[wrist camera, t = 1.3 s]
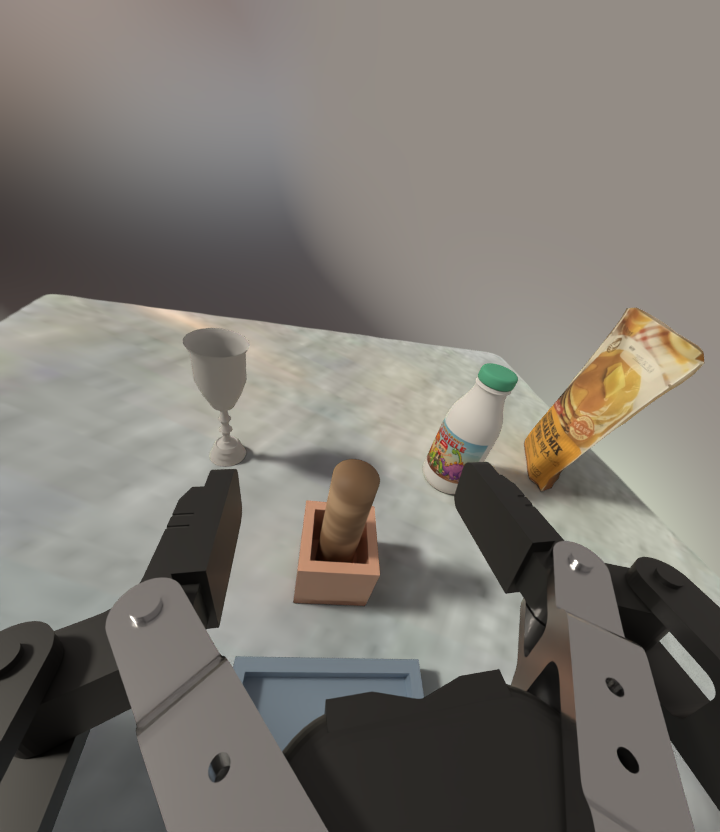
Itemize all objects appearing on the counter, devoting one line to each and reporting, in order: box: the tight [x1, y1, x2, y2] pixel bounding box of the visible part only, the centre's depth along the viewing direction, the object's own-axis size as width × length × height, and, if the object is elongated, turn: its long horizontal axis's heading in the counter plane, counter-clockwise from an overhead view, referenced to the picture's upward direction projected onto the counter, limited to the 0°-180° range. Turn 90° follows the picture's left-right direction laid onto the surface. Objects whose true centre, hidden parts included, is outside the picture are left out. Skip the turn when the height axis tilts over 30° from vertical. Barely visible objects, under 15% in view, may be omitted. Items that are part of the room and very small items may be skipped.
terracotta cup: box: [293, 501, 380, 606], centre depth 33 cm, size 8×8×7 cm
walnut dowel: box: [315, 459, 380, 563], centre depth 30 cm, size 4×4×15 cm
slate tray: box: [233, 656, 424, 751], centre depth 23 cm, size 16×11×2 cm
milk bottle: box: [423, 363, 518, 494], centre depth 45 cm, size 8×8×20 cm
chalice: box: [183, 328, 250, 466], centre depth 40 cm, size 7×7×18 cm
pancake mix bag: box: [524, 308, 704, 492], centre depth 50 cm, size 7×19×28 cm, turn 160°
